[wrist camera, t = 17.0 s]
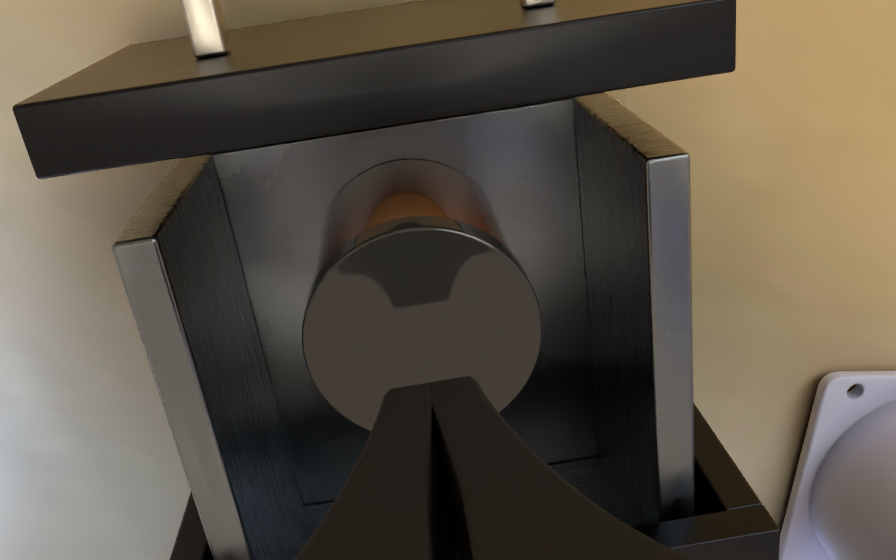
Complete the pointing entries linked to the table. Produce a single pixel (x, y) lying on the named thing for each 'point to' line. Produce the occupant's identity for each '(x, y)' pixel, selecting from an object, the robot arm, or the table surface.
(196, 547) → the cabinet
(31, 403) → the table surface
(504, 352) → the jar
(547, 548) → the robot arm
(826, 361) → the table surface
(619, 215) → the drawer
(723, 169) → the table surface
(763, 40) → the table surface
